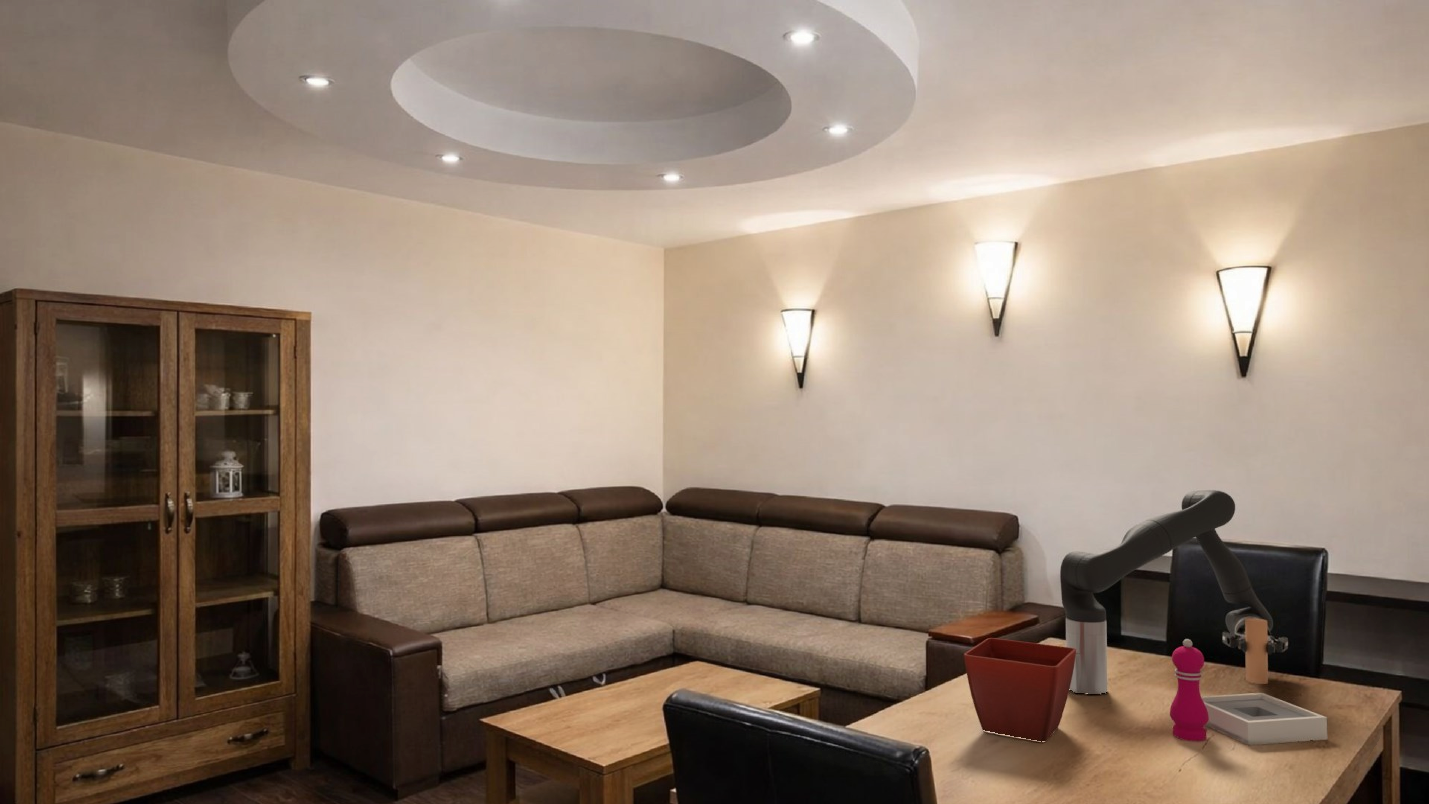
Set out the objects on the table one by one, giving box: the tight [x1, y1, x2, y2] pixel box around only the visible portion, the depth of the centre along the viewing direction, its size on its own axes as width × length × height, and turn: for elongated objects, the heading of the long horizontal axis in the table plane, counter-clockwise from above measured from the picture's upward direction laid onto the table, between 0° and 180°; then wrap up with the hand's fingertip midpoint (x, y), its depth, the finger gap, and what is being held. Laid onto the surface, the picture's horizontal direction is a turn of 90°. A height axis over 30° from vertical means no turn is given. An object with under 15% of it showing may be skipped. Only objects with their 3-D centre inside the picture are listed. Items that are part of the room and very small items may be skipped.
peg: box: [1245, 618, 1269, 685], centre depth 218 cm, size 4×4×14 cm
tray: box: [1201, 692, 1328, 746], centre depth 201 cm, size 18×18×4 cm
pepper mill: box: [1169, 638, 1209, 742], centre depth 196 cm, size 7×7×20 cm
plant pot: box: [963, 637, 1076, 742], centre depth 201 cm, size 19×19×17 cm
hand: (1257, 648), depth 215 cm, fingers closed on peg, 4 cm apart
